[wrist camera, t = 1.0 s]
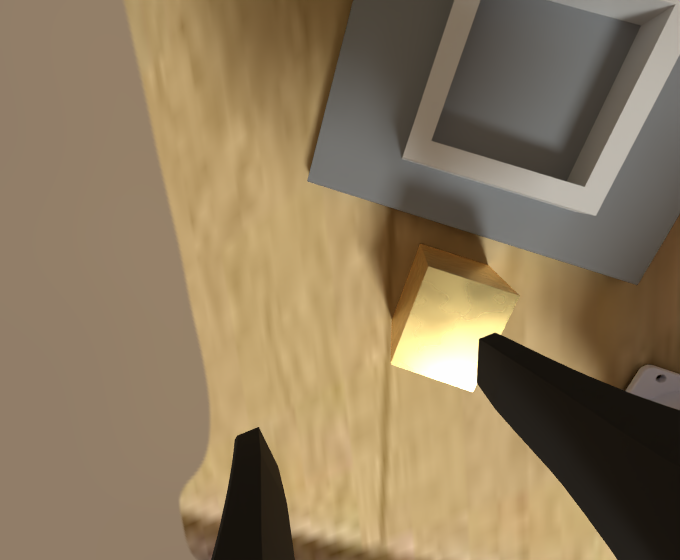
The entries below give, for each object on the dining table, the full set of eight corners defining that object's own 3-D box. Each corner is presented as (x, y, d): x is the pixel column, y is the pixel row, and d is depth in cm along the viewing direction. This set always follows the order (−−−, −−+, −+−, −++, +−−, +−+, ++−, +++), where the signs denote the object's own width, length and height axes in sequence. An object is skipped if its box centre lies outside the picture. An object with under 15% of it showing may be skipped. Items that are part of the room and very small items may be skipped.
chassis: (801, -24, 15) (896, -71, 12) (625, 279, 19) (665, 297, 16) (391, -129, 16) (390, -195, 13) (311, 181, 20) (297, 181, 17)
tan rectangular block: (487, 264, 20) (519, 295, 15) (454, 340, 22) (472, 392, 17) (420, 243, 20) (428, 266, 15) (391, 319, 22) (390, 364, 17)
